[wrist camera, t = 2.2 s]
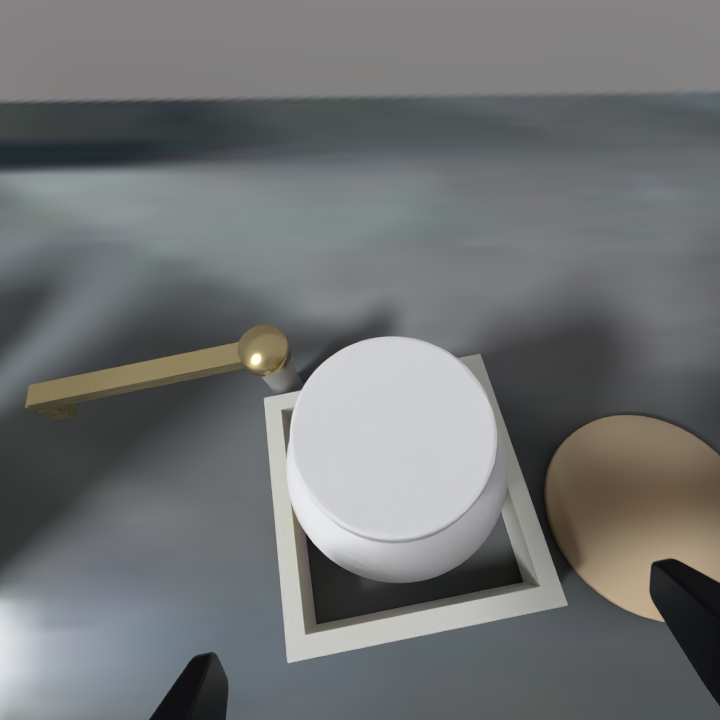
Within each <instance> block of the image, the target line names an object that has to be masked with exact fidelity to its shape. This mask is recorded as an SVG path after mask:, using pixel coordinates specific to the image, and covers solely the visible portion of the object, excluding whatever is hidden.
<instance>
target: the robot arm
mask: <svg viewBox="0 0 720 720" xmlns="http://www.w3.org/2000/svg"><path fill="white" fill-rule="evenodd" d="M649 592H650V596H651V599H652V601H653V603H654V605H655V606H656V608H657V610H658V611H659V613H660V614H661V616H662V618H663V619H664V621H665V622H666V624H667V626H668V627H669V629H670V630H671V632H672V634H673V635H674V637H675V638H676V640H677V642H678V643H679V645H680V647H681V648H682V650H683V651H684V653H685V655H686V656H687V658H688V659H689V661H690V663H691V664H692V666H693V667H694V669H695V671H696V672H697V674H698V675H699V677H700V678H701V680H702V681H703V683H704V684H705V686H706V687H707V689H708V690H709V692H710V693H711V695H712V696H713V697H714V699H715V700H716V702H717V703H718V704H719V706H720V582H718V581H716V580H714V579H712V578H710V577H709V576H707V575H705V574H703V573H701V572H699V571H698V570H696V569H694V568H692V567H690V566H688V565H686V564H685V563H683V562H681V561H679V560H676V559H673V558H668V559H663V560H658V561H654V562H653V563H652V564H651V571H650V585H649ZM227 700H228V679H227V676H226V674H225V672H224V669H223V667H222V665H221V663H220V661H219V658H218V656H217V655H216V654H215V653H214V652H210V653H205V654H200V655H197V656H195V657H193V658H192V659H191V661H190V662H189V663H188V665H187V666H186V668H185V669H184V670H183V672H182V673H181V675H180V676H179V678H178V679H177V680H176V682H175V683H174V685H173V686H172V688H171V689H170V690H169V692H168V693H167V695H166V696H165V698H164V699H163V700H162V702H161V703H160V705H159V706H158V708H157V709H156V711H155V712H154V713H153V715H152V716H151V718H150V719H149V720H226V710H227Z"/></svg>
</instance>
